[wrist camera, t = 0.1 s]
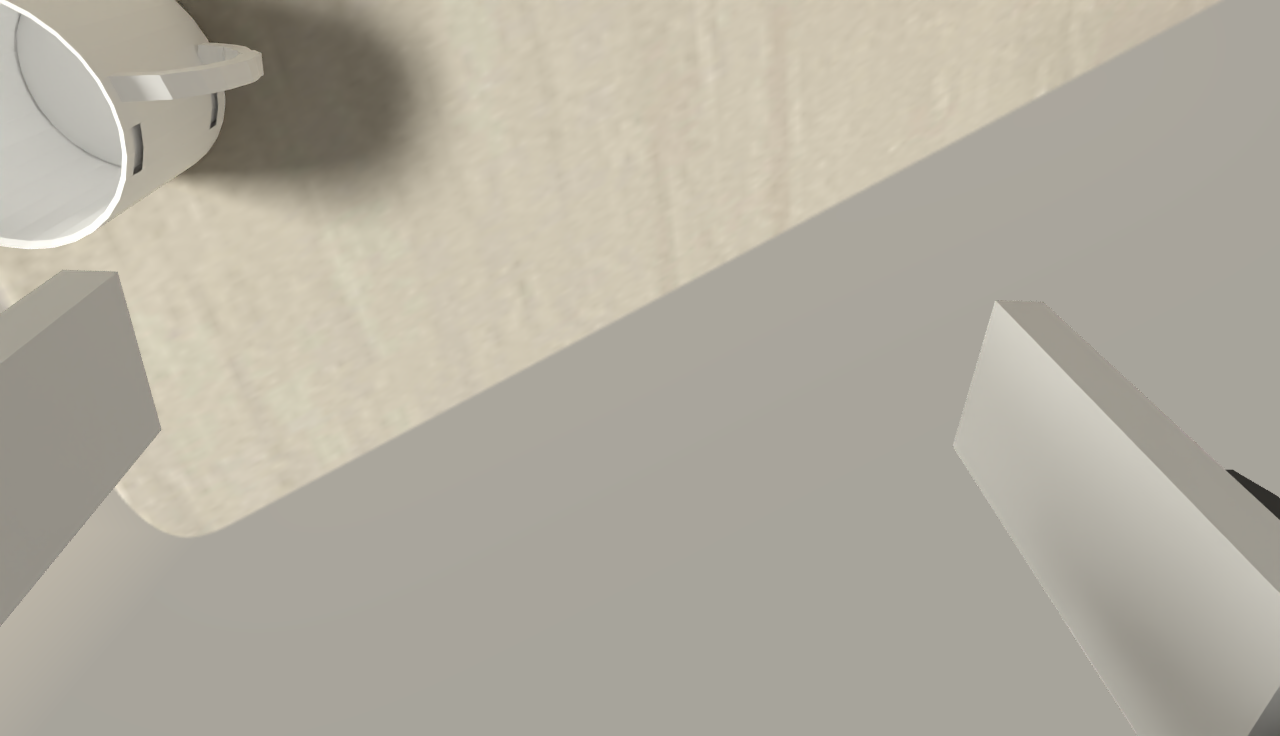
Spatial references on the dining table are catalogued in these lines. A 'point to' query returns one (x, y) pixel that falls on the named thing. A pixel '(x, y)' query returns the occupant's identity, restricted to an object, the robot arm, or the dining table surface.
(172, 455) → the dining table surface
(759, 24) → the dining table surface
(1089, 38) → the dining table surface
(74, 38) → the mug
